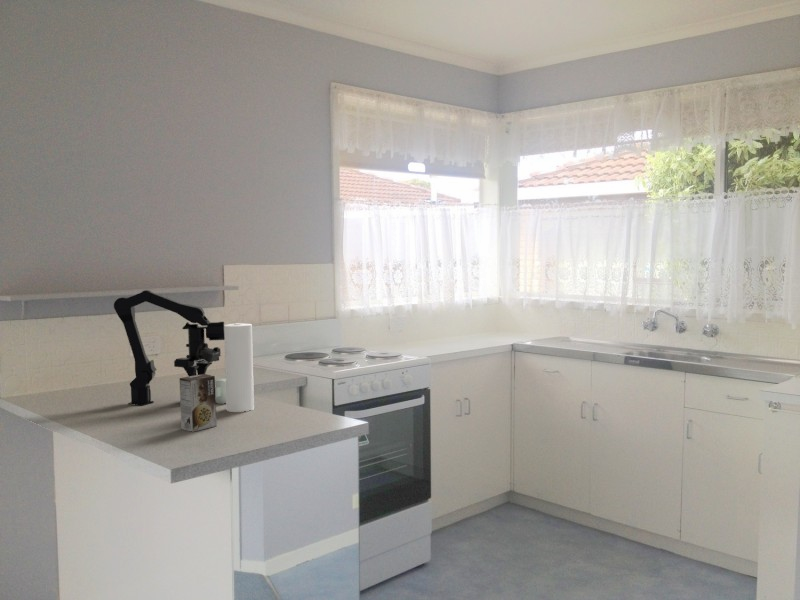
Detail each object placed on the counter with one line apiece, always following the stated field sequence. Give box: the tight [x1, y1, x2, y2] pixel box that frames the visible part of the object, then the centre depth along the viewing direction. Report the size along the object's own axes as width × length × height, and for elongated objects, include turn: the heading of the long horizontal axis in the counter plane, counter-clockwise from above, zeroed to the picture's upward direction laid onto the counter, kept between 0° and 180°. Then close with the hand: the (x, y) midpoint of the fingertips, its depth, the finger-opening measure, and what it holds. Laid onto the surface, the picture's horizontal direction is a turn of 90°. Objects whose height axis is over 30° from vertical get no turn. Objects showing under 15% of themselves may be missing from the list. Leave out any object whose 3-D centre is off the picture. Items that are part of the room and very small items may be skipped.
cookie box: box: [179, 373, 218, 433], centre depth 226 cm, size 9×6×16 cm
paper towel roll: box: [224, 322, 255, 413], centre depth 252 cm, size 9×9×30 cm
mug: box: [215, 378, 226, 405], centre depth 265 cm, size 9×7×8 cm
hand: (197, 383), depth 267 cm, fingers closed on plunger, 4 cm apart
